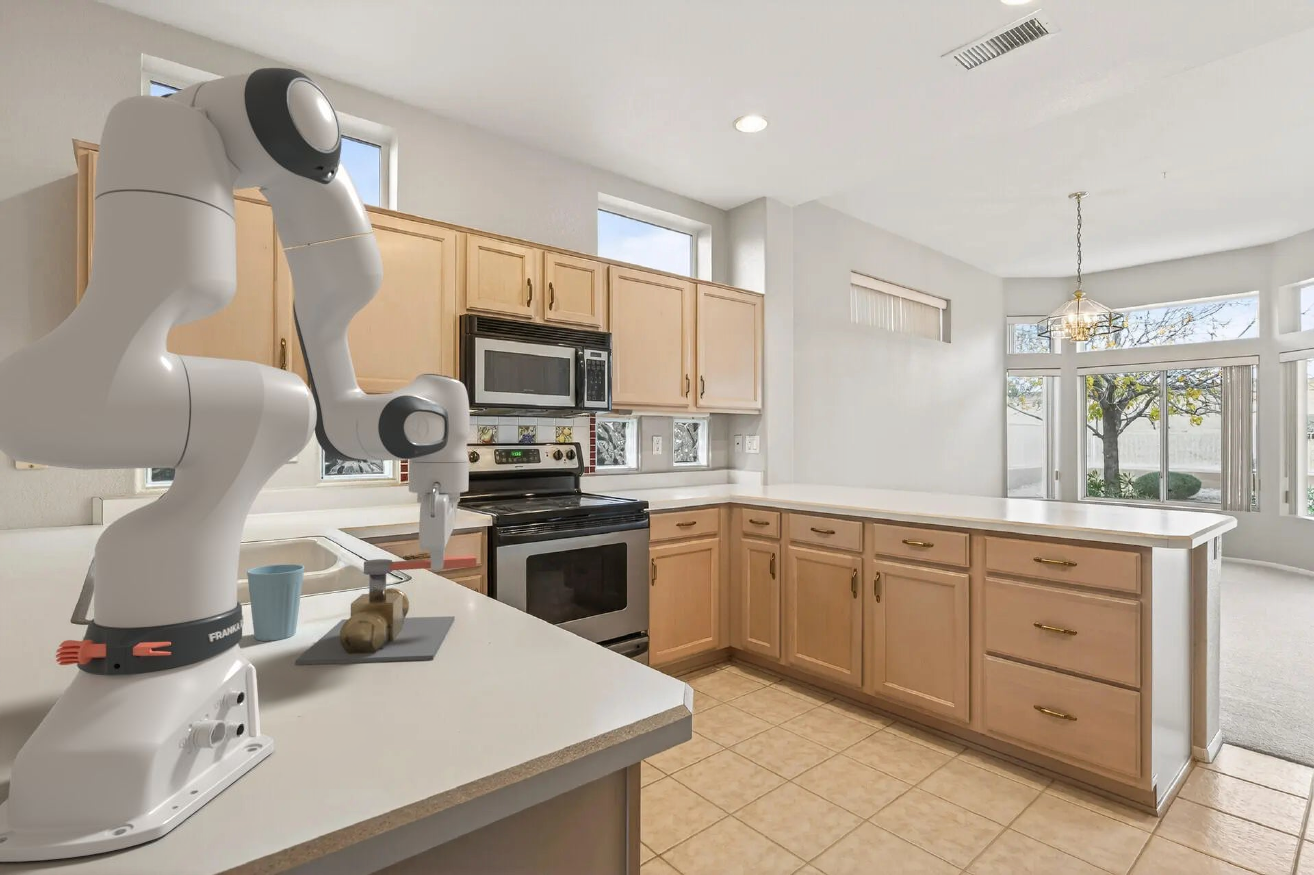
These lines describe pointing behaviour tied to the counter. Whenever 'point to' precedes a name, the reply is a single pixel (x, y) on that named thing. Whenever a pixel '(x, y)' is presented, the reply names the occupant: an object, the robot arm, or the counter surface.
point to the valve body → (374, 618)
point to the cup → (275, 600)
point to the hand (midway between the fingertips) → (437, 569)
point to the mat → (410, 644)
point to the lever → (415, 564)
